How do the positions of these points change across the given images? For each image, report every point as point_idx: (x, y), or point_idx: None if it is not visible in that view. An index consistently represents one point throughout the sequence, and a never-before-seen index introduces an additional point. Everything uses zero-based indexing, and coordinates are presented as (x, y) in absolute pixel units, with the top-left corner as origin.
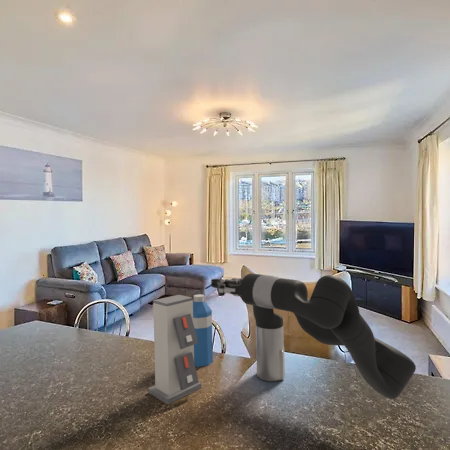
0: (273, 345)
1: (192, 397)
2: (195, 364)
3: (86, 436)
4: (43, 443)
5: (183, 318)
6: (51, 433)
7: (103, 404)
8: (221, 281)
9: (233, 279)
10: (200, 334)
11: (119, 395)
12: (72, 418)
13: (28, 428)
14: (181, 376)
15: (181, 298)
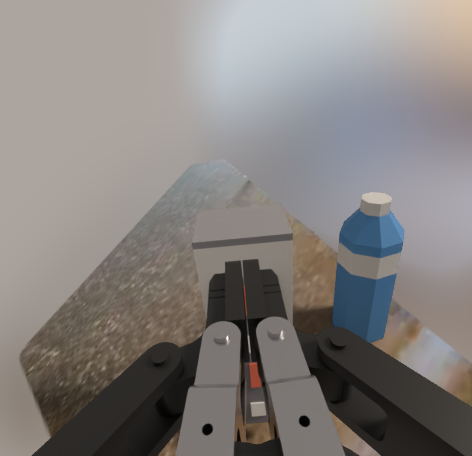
0: None
1: (267, 433)
2: None
3: (69, 410)
4: (34, 383)
5: (244, 289)
6: (57, 367)
7: (147, 345)
8: (201, 347)
9: (274, 415)
10: (356, 287)
11: (179, 337)
12: (98, 351)
13: (56, 338)
14: None
15: (260, 226)
